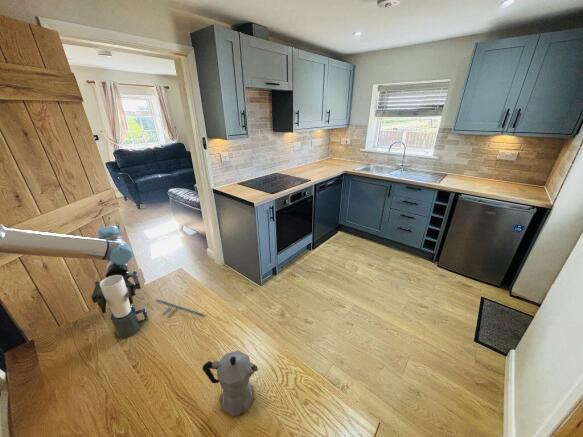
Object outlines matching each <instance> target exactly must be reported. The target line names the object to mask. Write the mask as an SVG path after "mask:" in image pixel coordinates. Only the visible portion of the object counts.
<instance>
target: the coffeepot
mask: <svg viewBox="0 0 583 437" xmlns="http://www.w3.org/2000/svg"><path fill="white" fill-rule="evenodd" d="M211 370H216V377H217V378H215V375H214V373H213V372H212V371H211ZM202 371H203V372H204V374H205V375H206V377H207V379H208V380H209V381H210V382H211V383H212V384H219V385H220V387H221V389H222V397H221V398H222V410H223V411H224V412H226V413H227V414H229V415H231V416H232V417H235V416H238V415H241V414H243V413H246V412H247V410H248V408H249V407H250V405H251V404H252V402H253V400H254V398H253V393H252V387H251V384H250V378H251V377H252V376H253V375H254V374H255V373H256V372H258V371H259V366H258V365H256V364H255V363H252V362H251V361H250V356H249V355H248V354H246V353H244V352H243V351H240V350H235V351H232V352H227V353H225V354H224V356H222V357H221V359H220V360H219V361H218V360H217V361H216V360H214V361H207V362H205V363H204V364H203V366H202Z"/></svg>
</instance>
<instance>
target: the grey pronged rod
mask: <svg viewBox="0 0 583 437" xmlns="http://www.w3.org/2000/svg"><path fill="white" fill-rule="evenodd" d="M156 301H158V302H160V303H163V304H167V305H170V306H171V307H176V308H178V309H182V310H186V311H188V312H191V313H195V314H198V315H200V316H204V314H203V313H199V312H197V311H194V310H190V309H187V308H185V307H182V306H178V305H175V304H172V303H170V302H166V301H164V300H163V301H162V300H160V299H156ZM171 307H169V308H167V309H166V310H165V311H163V313H162V314H163V315H165V314H166V313H167V312H168V311H169V310H171ZM171 316H172V314H171V315H169V318H170V317H171Z"/></svg>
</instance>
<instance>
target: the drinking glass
mask: <svg viewBox="0 0 583 437" xmlns="http://www.w3.org/2000/svg"><path fill="white" fill-rule="evenodd" d="M99 282H100V288H101V291H102V293H103V295H104V297H105V299H106V304H107V305H108V307H109V308H110V310H111V312H112V313H113V315H114V317H116V318H122V317H125V316H127V315H128V314H129V313H130V312H131V307H130V306H131V304H130V301H129V298H128V288H127V287H126V284H125V281H124V279H123V277H122V276H121V275H113V276H110V277H107V278H106V277H105V278H104V279H102V280H101V281H99Z"/></svg>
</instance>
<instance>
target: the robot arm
mask: <svg viewBox="0 0 583 437" xmlns="http://www.w3.org/2000/svg"><path fill="white" fill-rule="evenodd" d="M96 235H97V238H94V237H93V238H91V237H84V236H75V235H68V234H58V233H51V232H42V231H33V230H25V229H18V228H17V229H16V228H10V227H9V228H8V227H5V225H3V223H0V254H1V255H2V254H4V255H19V256H21V255H22V256H36V257H50V258H51V257H52V258H53V257H54V258H65V259H67V258H68V259H79V260H80V259H82V260H95V261H96V260H98V261H105V262H106V265H105V266H106V267H105V278H107V277H110V276H113V275H121V276H122V277H123V279H124V281H125V284H126V288H127V293H128V298H129V303H130V305H132V304H133V305H134V300H133V299H134V298H133V297H134V296H136V291H137V290H140V289H141V287H142V286H141V283H140V280H139V278H138V277H139V274H138V272H137V270H134V271H133V272H132V273H130V272H129V262H130V261H131V260H132V259H133V256H134V252H133V250H132V247H131V246H130V245H129V244H128V243H127V242H126V241H125V239H124V238H123V236H122V235H121V231H120V229H119V227H118V226H115V225H108V226H104V227H101V228H99V229H98V230H97V231H96ZM130 278H131V279H132V280H133V282H134V283H133V282H131V281H130V280H129V279H130ZM100 282H101V281H94V285H95V286H94V289H93V290H92V294H91V296H90V297H91V300H92V303H93V304H95V303H96V304H97V306H98V308H100V311H101V312H102V314H106V313H107V312H106V311H107V301H106V299H105V297H104V295H103V293H102V291H101V288H100Z"/></svg>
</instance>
